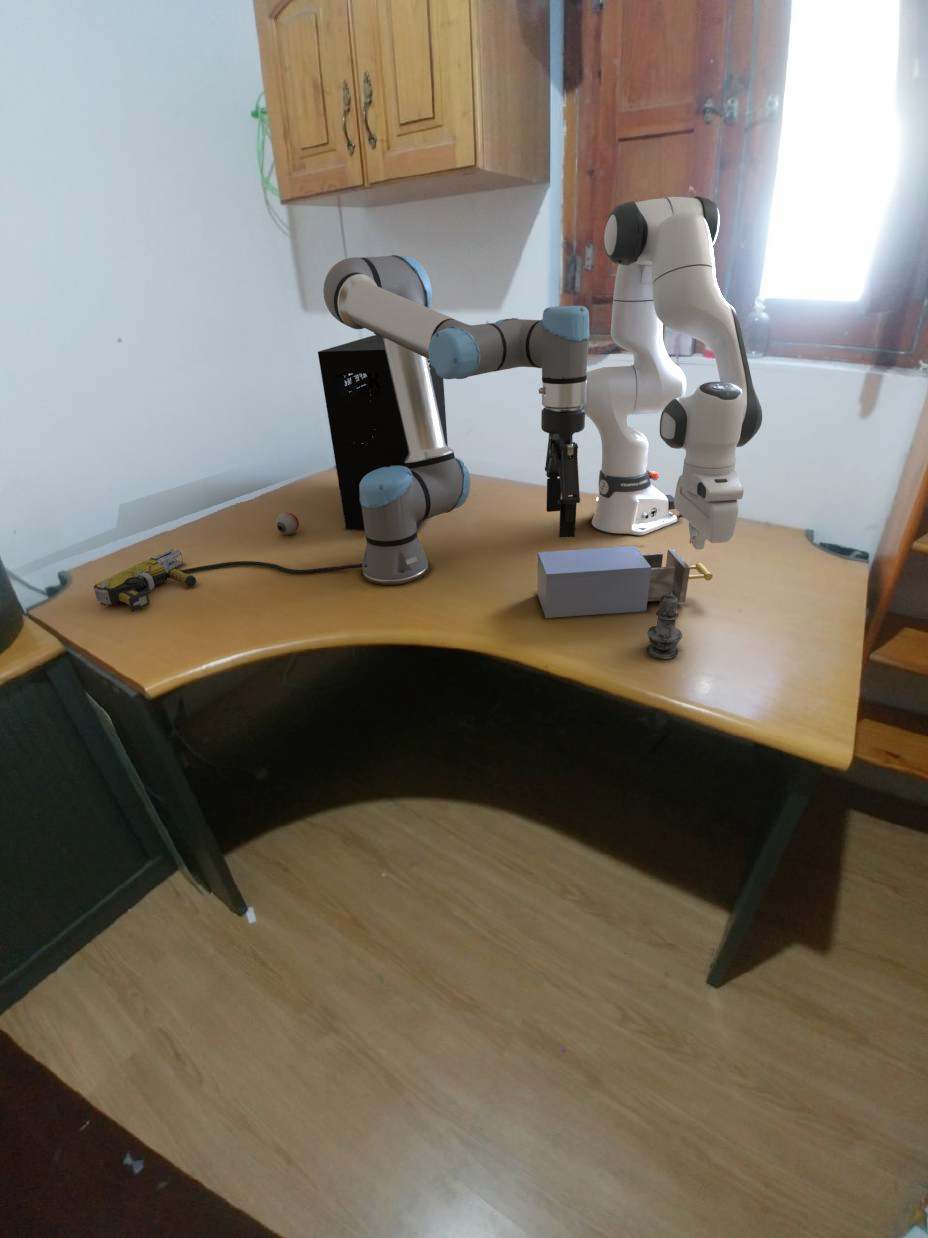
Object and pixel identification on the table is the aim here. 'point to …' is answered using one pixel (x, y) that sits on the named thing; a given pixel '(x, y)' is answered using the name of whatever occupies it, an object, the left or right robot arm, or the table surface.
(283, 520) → the eyeball
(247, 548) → the table surface
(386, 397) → the black tall box
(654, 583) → the drawer
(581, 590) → the cabinet
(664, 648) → the dark grey chess piece
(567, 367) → the left robot arm
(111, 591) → the toy gun
